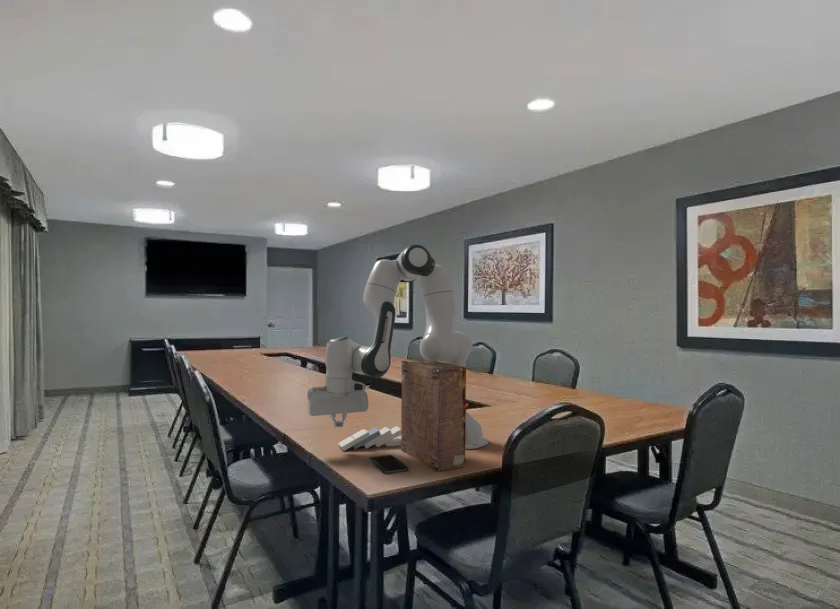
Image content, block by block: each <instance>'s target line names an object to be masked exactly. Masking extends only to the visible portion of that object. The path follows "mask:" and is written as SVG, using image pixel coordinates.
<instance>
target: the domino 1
mask: <svg viewBox="0 0 840 609" xmlns="http://www.w3.org/2000/svg"><path fill="white" fill-rule="evenodd" d="M368 431H369V430H366V429H364V428H363V429H361V430H359V431H358V432H355V433H354V434H352V435H350V436H348V437H347V438H344V439H343V440H340V442H338V443H337V444H338V447H339V448H340V449H341V451H343V452H345V451H347V450H348V449H350V448H353V447H352V446H354V445H355V444H357V443H359V442H361V441H362V440H364V439H366V438H368V437H369V436H370V435H369V433H368Z"/></svg>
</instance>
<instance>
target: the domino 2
mask: <svg viewBox="0 0 840 609" xmlns="http://www.w3.org/2000/svg"><path fill="white" fill-rule="evenodd" d="M379 430H380V429H378V428H377V427H373V428H371V429H369V430H367V431H368V433H369V435H370V436H369V437H368V438H366V439H364V440H362V441H361V442H359V443H357V444H355V445H354V446H352V447H351V448H352V449H354V450H357V449H358V448H360V447H362V446H363V445H364V444H365V443H367V442H369V441H371V440H372V439H374V438H376V437H378V436H379V435H381V434H380V431H379Z"/></svg>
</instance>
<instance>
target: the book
mask: <svg viewBox="0 0 840 609" xmlns="http://www.w3.org/2000/svg"><path fill="white" fill-rule="evenodd" d="M466 396H467V368H466V366H465V367H462V366H457V365H452V364H447V363H442V362H437V361H432V360H427V359H426V360H425V359H424V361H423V360H421V361H407V360H401V407H400V408H401V409H400V410H401V416H400V417H401V424H400V426H401V427H400V429H401V435H400V437H401V445H400V447H401V448H400V449H401V452H403V453H405V454H406V453H407V455H408V456H410V457H411V458H413V459H415V460H417V461H419V462H421V463H423V464H424V465H426V466H428V467H430V468H431V469H432V470H435V471H437V472H444V471H449V470H455V469H462V468H465V467H466V449H465V423H466V412H467V407H466V404H467V401H466V400H467V399H466V398H467V397H466Z"/></svg>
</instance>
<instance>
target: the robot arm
mask: <svg viewBox="0 0 840 609" xmlns="http://www.w3.org/2000/svg"><path fill="white" fill-rule="evenodd" d="M415 281H418V282H419V284H420V286H421V288H422V295H423V302H424V308H425V315H426V319H425V320H426V321H425V322H426V324H425V330H424V334H423V338H422V339H421V340H420V343H419V353H420V356H421V357H422V358H423V360H424V361H425V360H426V359H427V360H432V361H437V362H442V363H447V364H452V365H457V366H462V367H465V368H466V365H467V360H468V359H469V356H470V354H471V353H472V352H473V344H474V343H473V340H472V339H471V337H470V336H469V335H468V334H467V333H464V332H462V331H459V330H453V323H454V319H455V317H456V315H457V306H456V301H455V296H454V290H453V285H452V282H451V278H450V276H449V272H448V270H447V269H446V267H445V266H444V265H441V264H436V262H435V259H434V258H433V257H432V256H431V253H430V252H429V251H428V249H427V248H426V247H425V246H423V245H420V244H412V245H409V246H407V247H406V248H405V249H403V250H402V252H400V254H398V256H397V258H396V259H395V260H390V259H386V258H382V259H379V260H377V261H376V262H375V264H374V265H373V267H372V268H371V271H370V273H369V276H368V278H367V281H366V284H365V287H364V291H363V297H362V301H363V305H364V307H365V309H367V311H369V312H370V313H371V314H372V315H374V317H375V321H376V322H375V323H376V324H375V329H374V330H375V331H374V335H373V342H372V344H371V345H370V346H366V345H362V344H359V343H357V342H355V341H354V340H352V339H351V338H350V337H349V336H336V337H333V338H331V339H329V340H328V341H327V344H326V347H325V362H324V363H325V364H324V365H325V367H326V368H325V369H326V373H325V377H324V378H325V379H324V381H325V382H324V386H313V387H311V388H310V389H308V390H307V397H306V398H307V400H308V403H307V413H308V415H309V416H311V417H319V416H329V417H330V418H331V420H332V422H333V423H332V424H333V428H335V429H337V428H343V427H344V422H345V420H346V418H347V414H353V413H362V412H367V411H368V409H369V397H368V393H367V392H366V388H367V387H366V384H365V383H363V382H360V381H357V380H355V379H353V373H355V374H359V375H364V376H368V377H370V378H374V379H379V378H382V377H383V376H385V375H386V373H388V371H389V370H390V366H391V360H392V358H391V357H392V356H391V349H392V348H391V347H392V341H393V336H394V335H393V334H394V329H395V322H396V321H395V320H396V307H395V299H396V294H397V291H398V290H397V289H398V287H399V284H400V283H413V282H415ZM467 407H469V403H467V402H466V408H467ZM337 415H340V416H341V418H340V420H336V417H337ZM489 443H490V439H489V438H487V437H484V435H483V429H482V425H481V424H480V423H479V422H478V421H477V420H476V419H475V418H474V417H473V416H472V415H471V414H470V413H469V412H467V411H466V423H465V450H472V449H474V450H475V449H479V448H482V447H484V446H487V445H488V444H489Z"/></svg>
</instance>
